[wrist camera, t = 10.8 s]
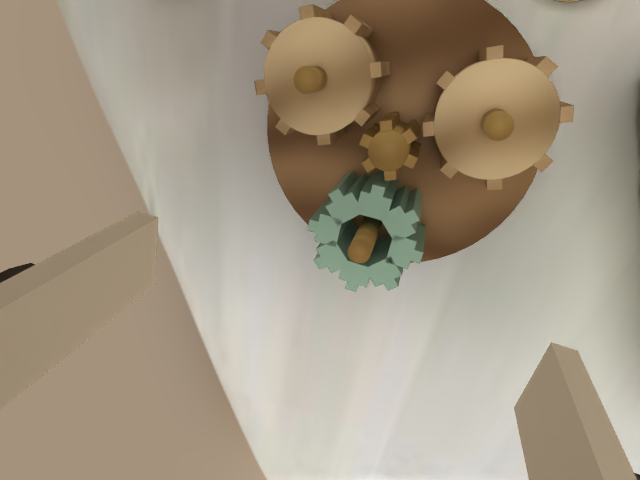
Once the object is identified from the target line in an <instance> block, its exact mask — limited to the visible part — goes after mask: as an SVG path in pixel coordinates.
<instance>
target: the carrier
mask: <svg viewBox="0 0 640 480" xmlns="http://www.w3.org/2000/svg"><path fill="white" fill-rule="evenodd" d="M299 11H300V19H301V20H299V21H296V22H294V23H292V24H291V25H289V26H288V27H286V28H285V29H284V30H283V31H282V32H276V31H270V30H268V31H267V33H266V34H265V36H264V38H263V39H262V41H261V43H262V44H263V45H264V46H266V47H267V48H268V49H269V51H268V54H267V57H266V61H265V65H264V80H257V81H254V83H255V88H256V94H257V95H259V94H267V97H268V100H269V110H268V133H267V135H268V143H269V152H270V156H271V160H272V164H273V168H274V171H275V173H276V176H277V179H278V181H279V184H280V186H281V188H282V190H283V192H284V194H285V195H286V197H287V199H288V200H289V202H290V203H291V205H292V206H293V208H294V209H295V211H296V212H297V213H298V214H299V215H300V216H301V218H302V219H303V220H304V221H305V222H306V223H307V224H308V225H309V221H310V219H311V217H312V216H313V215H314V214H315V213H316V211H317V210H318V209H319V208H320V207H321V206H322V204H323V203H324V202H325V201H326V200H327V198H329V199H331V198H330V197H329V195H328V194H329V193H330V192H331V190H332V189H333V188H334V187H335V186H336V185H337V184H338V182H339V181H340V180H341V179H342V178H343V177H344V176H345V175H347V174H348V173H350V172H352V171H353V172H354V173H355V175H356V177H357V178H358V177H359V176H361V175H363V174H365V176H366V178H367V179H369V177H370V176H371V174H372V173H375V174H379V172H380V171H381V170H382V171H384V178H385V181H387V180H399V183H398V186H397V189H396V190H398V189H399V188H401V187H403V186H405V185H406V186H407V188H408V190H409V191H410V192H411V191H413V190H415V189H417V188H418V190H419V192H420V193H421V195H422V197H423V201H422V208H421V216H420V222H419V224H421V225H424V226H426V230H425V241H424V252H423V255H422V258H421V261H420V262H422V261H427V260H432V259H437V258H441V257H444V256H447V255H450V254H453V253H456V252H458V251H460V250H462V249H464V248H466V247H468V246H471V245H472V244H474V243H475V242H477V241H479V240H480V239H482V238H483V237H485V236H486V235H488V234H489V233H490V232H491V231H493V230H494V229H495V228H496V227H498V226H499V225H500V224H501V223H502V222H503V221H504V220H505V219H506V218H507V217H508V216H509V215H510V214H511V213H512V211H513V210H514V209H515V207H516V206H517V205H518V203H519V202H520V201H521V199H522V198H523V197H524V195H525V193H526V192H527V190H528V188H529V186H530V185H531V183H532V181H533V179H534V177H535V174H536V172H537V169H538V170H539V171H541V172H542V171H543V170H544V169H545V168H547V167H548V166H549V165H550V164H551V163H552V162H553V160H552V159H550V158H549V157H548V156H547V155H546V154H545V153H546V151H547V150H548V149H549V147H550V146H551V144H552V142H553V140H554V138H555V136H556V133H557V131H558V127H559V123H564V122H573V112H574V106H573V105H570V104H567V103H564V102H561V101H559V97H558V94H557V91H556V89H555V87H554V85H553V83H552V82H551V81H550V79H549V78H548V76H549V75H550V74H551V73H552V72H553V71H554V70H555V69H556V68H557V67H558V66H557V65H556V64H554V63H553V62H552V61H551V60H550V59H549V58H547V57H546V56H543V57H534V56H533V54H532V52H531V50H530V48H529V46H528V44H527V43H526V41H525V40H524V38H523V37H522V36H521V34H520V33H519V32H518V30H517V29H516V27H515V26H514V25H513V24H512V23H511V22H510V21H509V20H508V19H507V18H506V17H505V16H504V15H503V14H502V13H501V12H499V11H498V10H497V9H495V8H494V7H492V6H491V5H490V4H488V3H487V2H486V1H484V0H340V1H338V2H337V3H335V4H334V5H332V6H330V7H329V8H328V9H326V10H324V9H322V8H319V7H317V6H315V5H313V4H312V5H307V6H302V7H299ZM351 220H352V222H353V223H354V225H355V227H356V228H357V232H356V234H355V236H354V238H353V240H352V242H351V244H350V246H349V248H348V256H349V258H350V259H351V260H352V261H354V262H356V263H364V262H366V261H368V259H369V258H370V256H371V253H372V250H373V247H374V245H375V242H376V239H380V238H382V237H384V236H386V235H388V234H389V233H388V231H387V229H386V228H385V226H384V224H383V223H382V221H381V220H378V219H374V218H371V217H367V216H364V215H360V214H359V215H358V216H356V217H354V218H352V219H351ZM411 262H413V261H410V263H411Z"/></svg>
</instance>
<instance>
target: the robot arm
mask: <svg viewBox="0 0 640 480" xmlns="http://www.w3.org/2000/svg"><path fill="white" fill-rule="evenodd" d="M157 233H158V217H155V216H152V215H149V214H146V213H142V212H139V211H138V212H136V213H134V214H132V215H130V216H128V217H126V218H124V219H122V220H120V221H118V222H117V223H115V224H113V225H111V226H109V227H107V228H105V229H103V230H102V231H100V232H97V233H95V234H94V235H92V236H90V237H88V238H86V239H84V240H82V241H80V242H78V243H76V244H74V245H72V246H71V247H69V248H67V249H65V250H63V251H61V252H59V253H57V254H55V255H53V256H51V257H49V258H47V259H45V260H44V261H42V262H40V263H38V264H36V265H35V264H32V263H29V264H25V265H22V266H17V267H14V268H10V269H8V270H5V271H3V272H1V273H0V410H1V409H2V408H3V407H4V406H6V405H7V404H8V403H9V402H10V401H12V400H13V399H14V398H16V397H17V396H18V395H19V394H20V393H22V392H23V391H24V390H25V389H27V388H28V387H29V386H30V385H32V384H33V383H34V382H35V381H37V380H38V379H39V378H40V377H41V376H43V375H44V374H45V373H46V372H48V371H49V370H50V369H51V368H53V367H54V366H55V365H56V364H58V363H59V362H60V361H61V360H63V359H64V358H65V357H66V356H68V355H69V354H70V353H71V352H72V351H74V350H75V349H76V348H77V347H79V346H80V345H81V344H82V343H84V342H85V341H86V340H87V339H89V338H90V337H91V336H92V335H94V334H95V333H96V332H97V331H98V330H100V329H101V328H102V327H103V326H104V325H106V324H107V323H108V322H109V321H111V320H112V319H113V318H114V317H116V316H117V315H118V314H119V313H121V312H122V311H123V310H124V309H126V308H127V307H128V306H129V305H130V304H132V303H133V302H134V301H136V300H137V299H138V298H139V297H140V296H142V295H143V294H144V293H145V292H146V291H148V290H149V289H150V288H152V287H153V286H154V285H155V275H156V254H157V253H156V252H157ZM514 410H515V414H516V419H517V424H518V429H519V434H520V438H521V443H522V448H523V453H524V458H525V463H526V467H527V472H528V477H529V480H640V475H639V474H636V473H634V472H633V470H632V468H631V465H630V463H629V461H628V459H627V457H626V455H625V452H624V450H623V448H622V446H621V444H620V442H619V439H618V437H617V435H616V433H615V431H614V429H613V426H612V424H611V422H610V420H609V418H608V416H607V413H606V411H605V409H604V407H603V405H602V403H601V400H600V398H599V396H598V394H597V392H596V390H595V387H594V385H593V383H592V381H591V379H590V377H589V374H588V372H587V370H586V368H585V366H584V364H583V361H582V359H581V357H580V355H579V353H578V351H577V350H573V349H570V348H567V347H564V346H561V345H558V344H554V343H551V344H550V346H549V347H548V349H547V351H546V353H545V354H544V356H543V358H542V360H541V361H540V363H539V365H538V367H537V368H536V370H535V372H534V374H533V375H532V377H531V379H530V381H529V382H528V384H527V386H526V388H525V389H524V391H523V393H522V395H521V396H520V398H519V400H518V402H517V403H516V405H515V407H514Z"/></svg>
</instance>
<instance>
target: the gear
mask: <svg viewBox="0 0 640 480" xmlns="http://www.w3.org/2000/svg"><path fill="white" fill-rule="evenodd" d="M398 183H399V180H387V181H385V178H384V171H382V170H381V171H380V172H379V174H375V173H372V174H371V176H370V177H369V179H367V178H366V176H365V174H363V175H361V176H359V177H358V178H357V177H356V175H355V173H354V172H353V171H352V172H350V173H348V174H347V175H345V176H344V177H343V178H342V179H341V180H340V181H339V182H338V184H337V185H336V186H335V187H334V188H333V189H332V190H331V192H330V193H329V194H328V195H329V197H330V198H331V199H329V198H327V200H326V201H325V202H324V203H323V204H322V206H321V207H320V208H319V209H318V210H317V211H316V213H315V214H314V215H313V216H312V217H311V219H310V221H309V226H308V231H311V232H315V233H316V235H315V240H314V241H316V242H320V244H319V245H318V247H317V248H316V250H317V252H318V254H317V255H316V257H315V259H314V262H315V263H316V265H317V266H318V268H319V269H322V268H324V267H326V266H327V267H328V269H329V270H330V272H331V273H333V272H335V271H337V270H339V269H341V271H340V275H339V279H342V280H345V281H347V283H346V287H345V289H348V290H351V291H354V292H356V291H357V288H358V286H359V285H361V286H364V287H367V285H368V282H369V279H371V280H372V282H373V284H374V285H375V287H376V286H379V285H381V284H384V285H385V287H386V289H387V290H391V289H393V288H395V287H398V286H399V280H400V276H401V275H402V272H403V268H406V269H408V267H409V264H410V261H413V262H416V263H419V264H420V261H421V258H422V255H423V252H424V241H425V230H426V226H424V225H421V224H419V222H420V216H421V208H422V201H423V197H422V195H421V193H420V192H419V190H418V188H417V189H415V190H413V191H411V192H410V191H409V190H408V188H407V186H406V185H405V186H403V187H401V188H399V189H398V190H396V189H397V186H398ZM359 214H360V215H364V216H367V217H371V218H374V219H378V220H381V221H382V223H383V224H384V226H385V228H386V229H387V231H388V233H389V234H388V235H386V236H384V237H382V238H380V239H376V242H375V245H374V247H373V250H372V253H371V256H370V258H369V259H368V261H366V262H364V263H356V262H354V261H352V260H351V259H350V258H349V256H348V248H349V246H350V244H351V242H352V240H353V238H354V236H355V234H356V232H357V228H356V227H355V225H354V223H353V222H352V220H351V219H352V218H354V217H356V216H358V215H359Z"/></svg>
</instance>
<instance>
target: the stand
mask: <svg viewBox="0 0 640 480" xmlns="http://www.w3.org/2000/svg"><path fill="white" fill-rule="evenodd" d="M556 1H561V2H576V1H581V0H556Z"/></svg>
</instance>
